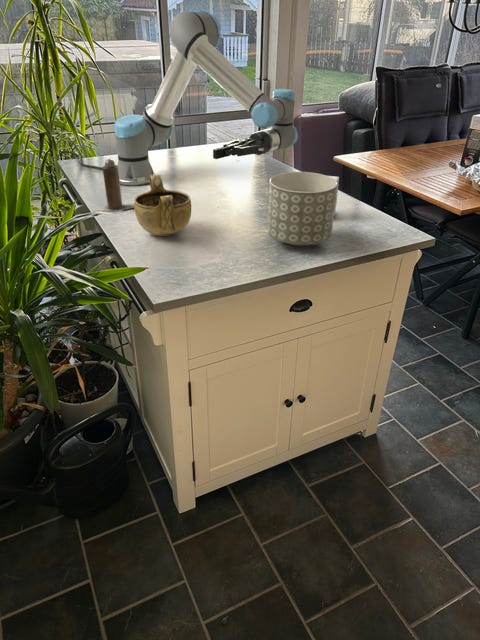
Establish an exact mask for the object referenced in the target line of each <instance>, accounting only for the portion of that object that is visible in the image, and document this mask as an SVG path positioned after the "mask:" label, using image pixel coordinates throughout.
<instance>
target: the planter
mask: <svg viewBox="0 0 480 640" xmlns="http://www.w3.org/2000/svg"><path fill="white" fill-rule="evenodd" d="M329 176H330V175H326V174H322V173H317V172H310V171H288V172H282V173H279V174H275V175H273V176H272V177H270V179H269V190H268V209H267V211H268V213H267V233H268V235H269V236H270V238H273V239H274V240H276V241H279V242H282V243H283V244H286V245H289V246H292V247H297V248H299V247H300V248H301V247H303V248H304V247H308V246H309V247H311V246H314V245H316V244H320V243H325V242H326V241H328V240H329V239H331V237H332V235H333V225H334V219H335V218H334V217H335V215H334V210H335V201H336V193H337V181H336V180H335V179H333V178H331V177H329ZM337 194H338V193H337Z"/></svg>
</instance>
